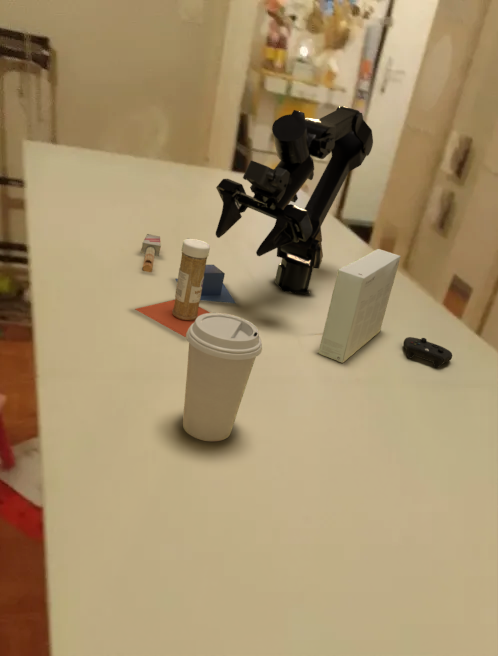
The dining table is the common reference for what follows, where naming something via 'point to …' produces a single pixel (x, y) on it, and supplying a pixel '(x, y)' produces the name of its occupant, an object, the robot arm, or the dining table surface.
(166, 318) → the terracotta mat
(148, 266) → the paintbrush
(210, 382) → the coffee cup
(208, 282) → the blue block
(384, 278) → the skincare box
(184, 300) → the sprinkles bottle
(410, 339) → the game controller
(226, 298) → the blue mat
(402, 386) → the dining table surface
